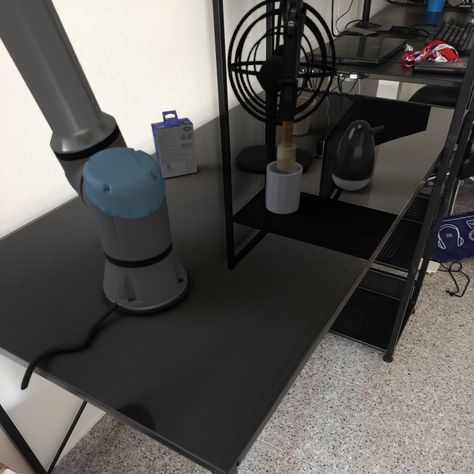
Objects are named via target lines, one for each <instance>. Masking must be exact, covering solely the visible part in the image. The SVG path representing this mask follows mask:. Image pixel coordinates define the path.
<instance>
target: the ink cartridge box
mask: <svg viewBox="0 0 474 474" xmlns="http://www.w3.org/2000/svg"><path fill="white" fill-rule="evenodd" d="M161 115H162V121H159V122H153V123H150V127H151V133H152V139H153V144H154V150H155V156H156V161H157V162H158V164H159V166H160V168H161V172H162V176H163V178H164V179H166V178H167V179H168V178H171V177H178V176H184V175H189V174H194V173H198V168H197V167H198V165H197V155H196V154H197V153H196V143H195V133H194V123H193V122H192V121H191V120H190V119H189V117H181V118H179V115H178V114H177V110H176V109H174V110H173V109H172V110H165V111H161ZM168 115H174V116H172V117H171V116H170V117H166V116H168Z"/></svg>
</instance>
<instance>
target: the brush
mask: <svg viewBox="0 0 474 474" xmlns="http://www.w3.org/2000/svg"><path fill="white" fill-rule="evenodd" d="M297 70H298V64H297ZM297 79H298V78H297V77H296V80H297ZM296 84H297V83H296ZM293 127H294V122H290V121H283V126H282V135H281V142H280V143H278V144H277V145H276V146H277V168H278V169H279V170H283V171H289V170H292V169H294V168H295V157H296V148H297V144H296V143H293V139H294V135H293Z"/></svg>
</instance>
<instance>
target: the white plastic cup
mask: <svg viewBox="0 0 474 474" xmlns="http://www.w3.org/2000/svg"><path fill="white" fill-rule="evenodd" d="M302 170H303V167H302V166H301V165H300V164H299V163H297V162H295V168H294V169H292V170H289V171H283V170H279V169H278V168H277V161H275V162H272V163H270V164H269V165H268V166H267V172H266V180H265V185H266V186H265V208H266V209H267V210H268V211H269V212H271V213H273V214H277V215H288V214H293V213H295V212H296V211H298V210H299V208H300V201H301V193H302V192H301V190H302V180H303V172H302Z"/></svg>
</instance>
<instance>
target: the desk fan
mask: <svg viewBox="0 0 474 474" xmlns="http://www.w3.org/2000/svg"><path fill="white" fill-rule="evenodd" d="M287 1H288V0H262V1H260V2H258V3H257V4H255V5H254V6H253V7H252V8H251V9H249V10H248V11H247V12H246V13H245V14H244V15H243V16H242V17H241V19H240V20H239V22H238V23H237V25H236V27H235V29H234V31H233V33H232V35H231V38H230V41H229V45H228V50H227V61H226V66H227V75H228V80H229V84H230V87H231V90H232V92H233V94H234V96H235V98H236V100H237V102H238V103H239V105H240V106H241V107H242V108H243V109H244V111H245V112H247V113H248V114H249V115H250V116H251V117H253V118H254V119H255V120H258V121H259V122H261V123H263V124H266V125H267V127H268V128H267V144H255V145H248V146H246V147H243V148H242V149H240V151H239V152H238V154H237V156H236V158H235V164H236V166H237V167H239V168H241V169H243V170H246V171H249V172H257V173H267V166H268V165H269V164H270V163H272V162H275V161H277V146H278V145H276V143H277V142H276V140H277V126H278V127H283V121H281V104H282V85H279V81H281V79H282V67H283V43H282V44H280V43H281V36H283V31H281V30H282V29H283V21H282V14H283V9H284V7H287ZM273 3H279V4H278V5H279V6H278V8H273V9H270V10H267V11H266V12H264V13H262V14H261V15H259V16H258V17H257V18H256V19H255V20H254V21H252V22H251V23H250V24H249V25H248V26H247V27H246V28H245V30H244V31H243V33H242V34H241V36H240V38H239V40H238V43H237V44H236V45H237V46H236V49H235V53H234V60H233V62H232V59H233V57H232V56H233V50H234V45H235V41H236V38H237V36H238V34H239V31H240V30H241V28H242V26H244V23H245V22H246V21H247V19H249V17H250V16H251V15H252V14H253V13H255V12H256V11H257V10H259V9H261V8H262V7H265V6H267V5H270V4H273ZM303 7H307V12H310V13H311V14H312V15H313V16H314V17H315V18H316V19H317V20H318V22H319V23H320V24H321V26H322V28H323V29H324V31H325V34H326V36H327V39H328V42H329V46H330V53H331V65H329V64H328V51H327V45H326V42H325V39H324V36H323V34H322V32H321V29H320V28H319V26H318V25H317V24H316V22H314V20H313V19H312V18H311V17H310V16H309V15H306V19H305V23H304V26H306V27H307V28H308V29H309V31H310V32H311V34H312V35H313V36H314V38H315V40H316V42H317V44H318V47H319V52H320V57H321V63H315V55H314V50H313V46H312V44H311V41H310V40H309V38H308V36H307V35H306V34H305V33H304V34H303V37H302V38H303V39H304V40H305V41H306V43H307V45H308V47H309V51H310V57H311V62H310V61H309V57H308V54H307V51H306V49H305V47H304V45H303V44H302V43H301V52H302V53H303V55H304V58H305V62H304V61H300V68H301V67H302V68H306V72H305V73H303V72H302V78H301V79H305V81H304V83H303V84H302V86H301V87H298V92H297V98H298V97H301V95H302V94H303V92H304V90H305V88H306V86H307V84H308V83H309V81H310V79H319V83H318V85H317V88H316V90H315V91H314V92H313V93H312V94H311V96H310V97H309V99H308V100H307V101H306V102H305V103H303V104H302V105H300V106H298V107H296V115H297V114H299V113H301V112H302V111H304V110H305V109H306V108H307V107H308V106H309V105H310V104H311V103H312V102H313V100H316V98H317V96H318V94H319V93H320V90H321V88H322V86H323V83H324V80H325V78H329V80H328V84H327V86H326V88H325V91H324V93H323V95H322V96H321V97H320V99H319V101H318V102H316V104H315V105H314V107H313V108H312V109H311V110H310V111H309V112H307V113H306V114H304V115H303V116H301V117H299V118H296V119H294V124H295V123H298V122H300V121H302V120H304V119H306V118H307V117H309V116H310V115H311V114H312V115H313V114H314V113H315V112H316V111H317V110H318V109H319V108H320V106H321V105H322V104H323V103H324V101H325V100H326V98H327V97H328V94H329V92H330V90H331V88H332V85H333V82H334V79H335V76H336V75H337V73H338V68H336V67H337V53H336V44H335V40H334V37H333V34H332V32H331V29H330V28H329V25H328V23H327V22H326V20H325V18H324V17H323V16H322V15H321V13H320V12H319V11H318V10H317V9H315V8H314V7H313V5H311V4H309V3H308V2H306V1H304V0H303ZM273 16H274V17H275V16H277V19H276V20H277V22H276V26H273V27H272V28H270V29H268V30H267V31H266V32H265V33H264V34H263V35H262V36H261V37H260V38H259V39H257V40H256V42H254V44H253V45H252V47H251V48H250V50H249V52H248V55H247V57H246V60H243V61H242V57H243V51H244V46H245V42H246V40H247V38H248V36H249V34H250V32H251V30H252V29H253V28H254V27H255V26H256V25H257V24H258V23H259V22H261V21H262V20H264V19H267V18H270V17H273ZM275 30H276V31H275ZM271 36H275V45H274V49H273V51H272V52H271V55H270V56H268V57H267V58H266V59H264V60H256V59H257V52H258V49H259V46H260V45H261V42H262V41H263V40H264V39H266V38H268V37H271ZM253 51H254V52H253ZM252 53H253V59H252V60H250V59H251V56H252ZM249 66H253V70H250V69H249ZM257 66H260V67H259V71H258V70H257ZM243 67H245V69H244V68H243ZM314 69H319V70H321V72H313V71H314ZM233 73H234V75H233ZM244 75H245V77H244ZM249 76H254V77H255V78H256V80H257V82H258V84H259V85H260V87H261V89H262V90H263V91H264V92H266V93H267V94H268V96H269V97H268V101H266V100H264V99H263V98H262V97H260V96H259V95H258V94H257V93H256V91H255V89H254V88H253V85H252V83H251V81H250V77H249ZM245 78H246V81H245ZM234 79H235V80H234ZM246 82H247V83H246ZM247 85H248V86H247ZM248 87H249V88H248ZM278 99H279V103H278ZM252 102H253V103H254V104H255V105H254V104H253V103H252ZM263 110H264V111H263ZM312 115H311V116H312ZM311 160H312V154H311V153H310V152H309V151H307V150H305V149H302V148H298V147H296V157H295V162H297V163H299V164H300V165H301V166H302V167H303V170H302V173H303V172H305V171H306V170H308V168H309V166H310V163H311Z"/></svg>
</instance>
